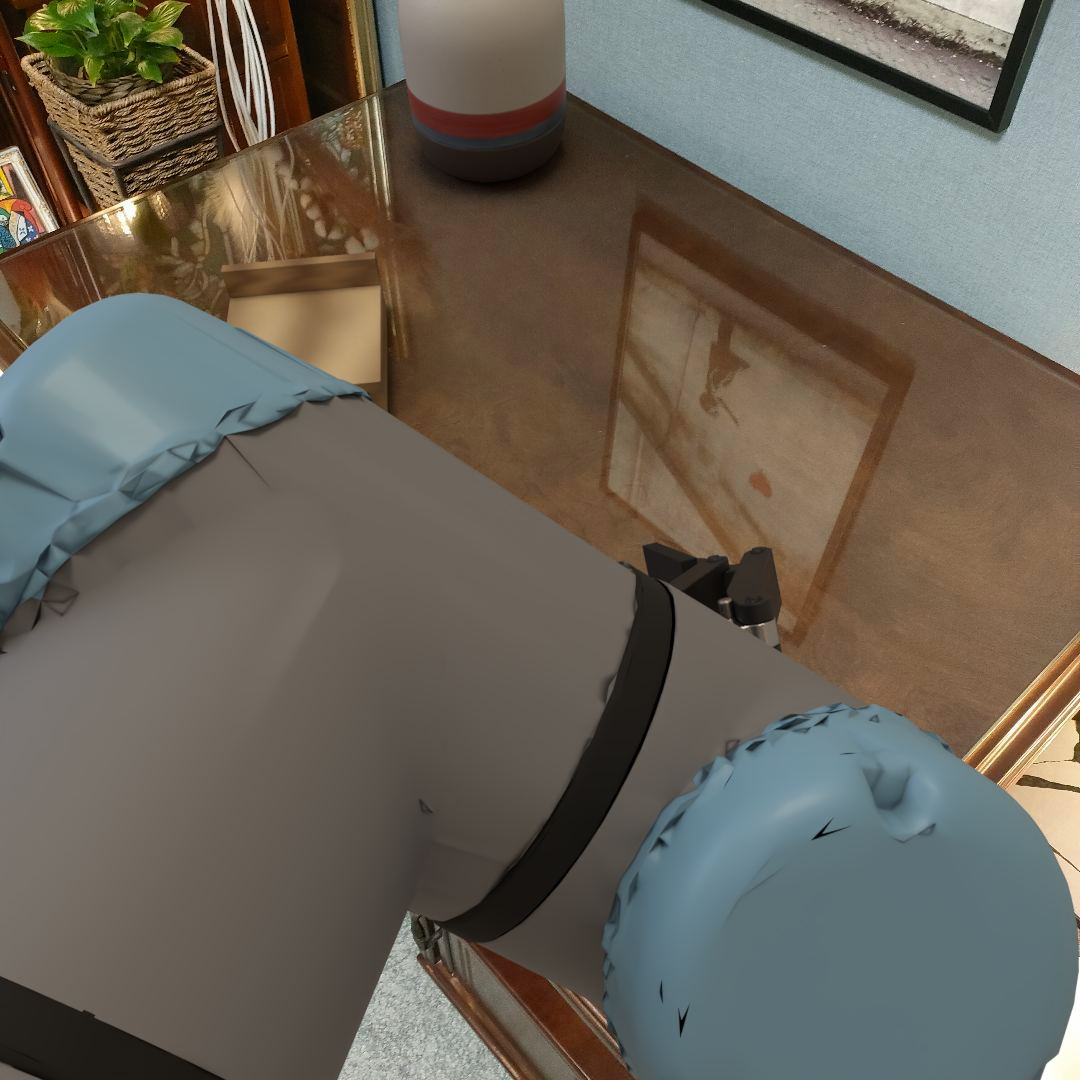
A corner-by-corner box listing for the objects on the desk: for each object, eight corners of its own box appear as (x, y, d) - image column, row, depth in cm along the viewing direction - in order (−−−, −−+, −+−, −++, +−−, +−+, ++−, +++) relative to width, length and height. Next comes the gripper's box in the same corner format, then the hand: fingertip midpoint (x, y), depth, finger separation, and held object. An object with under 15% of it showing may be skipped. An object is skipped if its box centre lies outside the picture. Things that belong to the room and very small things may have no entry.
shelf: (229, 429, 90) (205, 370, 84) (241, 324, 98) (221, 265, 93) (387, 414, 90) (374, 355, 85) (387, 311, 99) (375, 251, 93)
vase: (557, 199, 109) (552, -35, 90) (403, 192, 111) (366, -39, 92) (574, 114, 119) (572, -112, 101) (432, 109, 121) (405, -114, 102)
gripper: (236, 961, 29) (293, 739, 49) (1033, 730, 32) (772, 613, 53) (165, 709, 28) (254, 590, 48) (996, 498, 31) (745, 471, 52)
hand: (524, 602), depth 51 cm, fingers open, 13 cm apart
